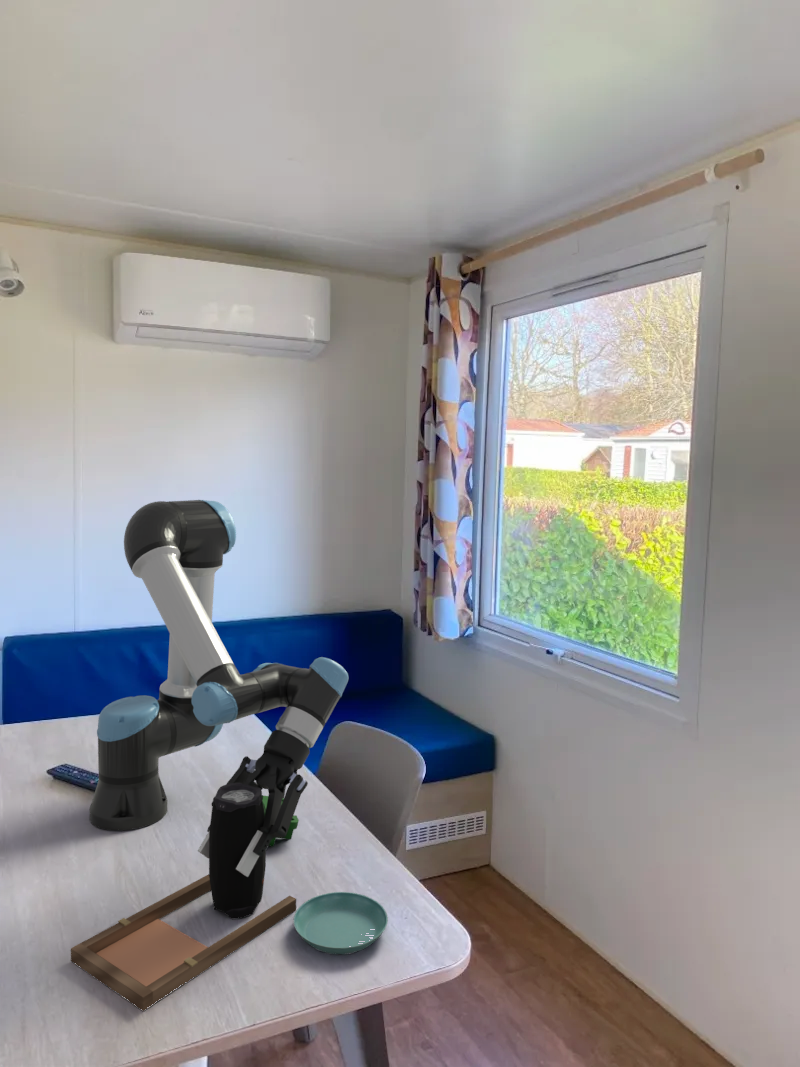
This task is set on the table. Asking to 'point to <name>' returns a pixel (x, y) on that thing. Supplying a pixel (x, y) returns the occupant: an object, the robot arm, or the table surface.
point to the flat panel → (151, 951)
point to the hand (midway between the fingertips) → (222, 863)
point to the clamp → (292, 826)
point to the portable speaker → (235, 849)
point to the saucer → (340, 922)
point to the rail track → (191, 967)
